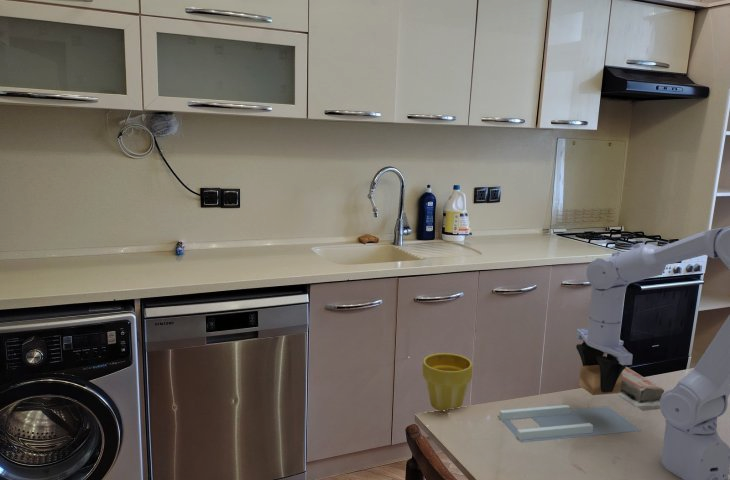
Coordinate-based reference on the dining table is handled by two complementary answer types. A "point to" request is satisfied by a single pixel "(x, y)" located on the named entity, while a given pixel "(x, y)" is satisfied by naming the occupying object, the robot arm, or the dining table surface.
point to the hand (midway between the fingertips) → (598, 385)
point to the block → (595, 380)
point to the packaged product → (640, 391)
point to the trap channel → (566, 422)
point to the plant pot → (447, 379)
